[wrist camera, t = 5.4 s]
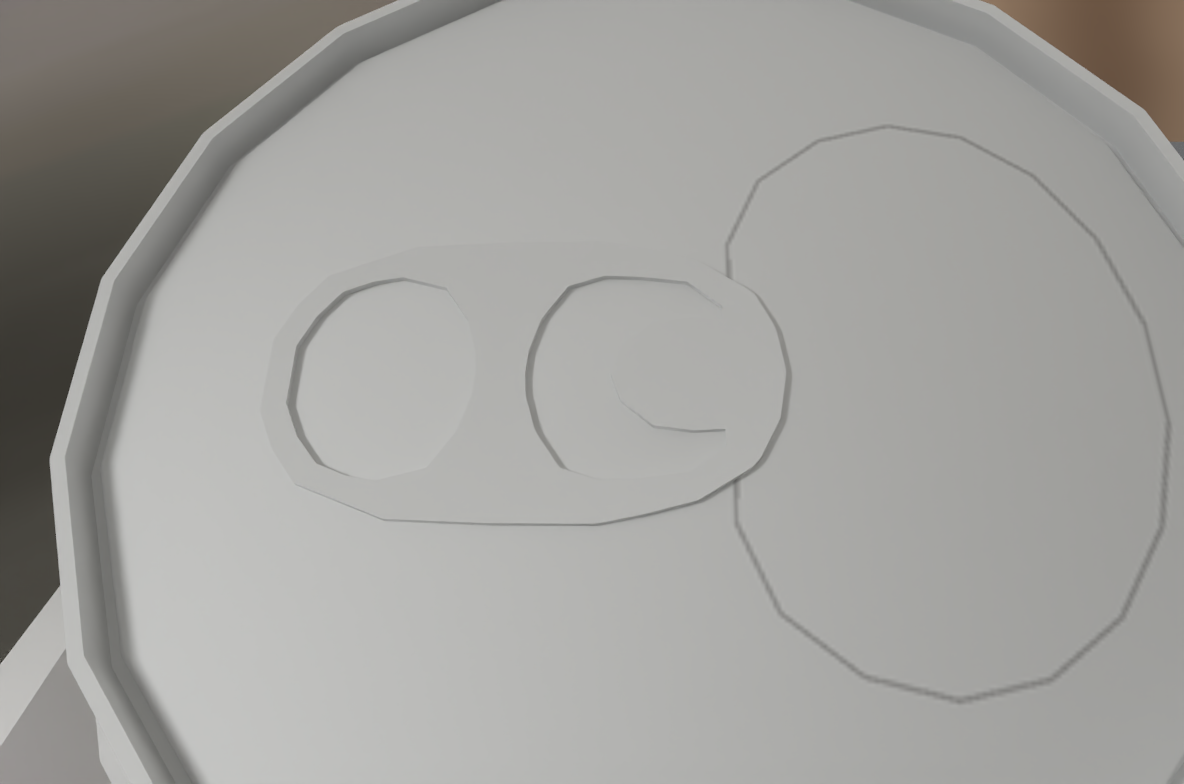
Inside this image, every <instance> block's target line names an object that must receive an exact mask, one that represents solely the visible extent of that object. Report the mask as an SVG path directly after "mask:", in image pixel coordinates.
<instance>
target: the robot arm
mask: <svg viewBox="0 0 1184 784" xmlns="http://www.w3.org/2000/svg"><path fill="white" fill-rule="evenodd" d="M0 784H112V783H111V781H110V780H109V778H108V776H107V774H106V772H105V770H104V768H103V766H102V764H101V762H100V757H99V747H98V736H97V726H96V717H95V715H94V713H93V711H92V710H91V708H90V706H89V704H88V702H87V700H86V698H85V696H84V694H83V693H82V691H81V689H80V687H79V685H78V683H77V681H76V679H75V677H74V676H73V674H72V672H71V670H70V668H69V666H68V664H67V655H66V643H65V632H64V621H63V609H62V598H61V586H59V588H58V589H57V590H56V592H55V593H54V594H53V596H52V597H51V598H50V599H49V601H48V602H47V603H46V605H45V606H44V607H43V609H42V610H41V611H40V613H39V614H38V615H37V617H36V618H35V619H34V621H33V622H32V623H31V625H30V626H29V627H28V629H27V630H26V631H25V632H24V634H23V635H22V636H21V638H20V639H19V640H18V642H17V643H16V644H15V646H14V647H13V648H12V650H11V651H10V652H9V654H8V655H7V656H6V658H5V659H4V660H3V662H2V663H1V664H0Z"/></svg>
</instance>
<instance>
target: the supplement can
mask: <svg viewBox="0 0 1184 784" xmlns="http://www.w3.org/2000/svg"><path fill="white" fill-rule="evenodd" d="M49 460H50V472H51V483H52V495H53V506H54V518H55V529H56V541H57V552H58V563H59V575H60V586H61V598H62V609H63V621H64V632H65V643H66V655H67V664H68V666H69V668H70V670H71V672H72V674H73V676H74V677H75V679H76V681H77V683H78V685H79V687H80V689H81V691H82V693H83V694H84V696H85V698H86V700H87V702H88V704H89V706H90V708H91V710H92V711H93V713H94V715H95V717H96V726H97V736H98V747H99V757H100V762H101V764H102V766H103V768H104V770H105V772H106V774H107V776H108V778H109V780H110V781H111V783H112V784H1184V160H1183V159H1182V158H1181V156H1180V155H1179V154H1178V152H1177V151H1176V150H1175V148H1174V147H1173V146H1172V145H1171V143H1170V142H1169V141H1168V139H1167V138H1166V137H1165V135H1164V134H1163V133H1162V132H1161V130H1160V129H1159V128H1158V126H1157V125H1156V124H1155V123H1154V121H1153V120H1152V119H1151V117H1150V116H1149V115H1148V113H1147V112H1146V111H1145V110H1144V109H1143V108H1141V107H1140V106H1139V105H1137V104H1136V103H1134V102H1133V101H1131V100H1130V99H1128V98H1127V97H1126V96H1124V95H1123V94H1121V93H1120V92H1118V91H1117V90H1115V89H1114V88H1113V87H1111V86H1110V85H1108V84H1107V83H1105V82H1104V81H1103V80H1101V79H1100V78H1098V77H1097V76H1095V75H1094V74H1092V73H1091V72H1090V71H1088V70H1087V69H1085V68H1084V67H1082V66H1081V65H1079V64H1078V63H1077V62H1075V61H1074V60H1072V59H1071V58H1069V57H1068V56H1066V55H1065V54H1064V53H1062V52H1061V51H1059V50H1058V49H1056V48H1055V47H1053V46H1052V45H1051V44H1049V43H1048V42H1046V41H1045V40H1043V39H1042V38H1041V37H1039V36H1038V35H1036V34H1035V33H1033V32H1032V31H1030V30H1029V29H1028V28H1026V27H1025V26H1023V25H1022V24H1020V23H1019V22H1017V21H1016V20H1015V19H1013V18H1012V17H1010V16H1009V15H1007V14H1006V13H1004V12H1003V11H1002V10H1000V9H999V8H997V7H996V6H994V5H992V4H989V3H986V2H983V1H980V0H398V1H395V2H393V3H391V4H389V5H386V6H384V7H382V8H379V9H377V10H375V11H372V12H370V13H368V14H365V15H363V16H361V17H358V18H356V19H354V20H351V21H349V22H347V23H344V24H342V25H340V26H338V27H336V28H335V29H333V30H332V31H331V32H330V33H328V34H327V35H326V36H325V37H323V38H322V39H321V40H320V41H318V42H317V43H316V44H315V45H313V46H312V47H311V48H310V49H308V50H307V51H306V52H304V53H303V54H302V55H301V56H299V57H298V58H297V59H296V60H294V61H293V62H292V63H291V64H289V65H288V66H287V67H286V68H284V69H283V70H282V71H281V72H279V73H278V74H277V75H275V76H274V77H273V78H272V79H270V80H269V81H268V82H267V83H265V84H264V85H263V86H262V87H260V88H259V89H258V90H257V91H255V92H254V93H253V94H252V95H250V96H249V97H248V98H246V99H245V100H244V101H243V102H241V103H240V104H239V105H238V106H236V107H235V108H234V109H233V110H231V111H230V112H229V113H228V114H226V115H225V116H224V117H223V118H221V119H220V120H219V121H217V122H216V123H215V124H214V125H212V126H211V127H210V128H209V129H207V130H206V131H205V132H204V133H203V134H202V135H201V137H200V138H199V139H198V141H197V142H196V144H195V145H194V147H193V148H192V149H191V151H190V152H189V154H188V155H187V157H186V158H185V159H184V161H183V162H182V164H181V165H180V167H179V168H178V170H177V171H176V172H175V174H174V175H173V177H172V178H171V180H170V181H169V182H168V184H167V185H166V187H165V188H164V190H163V191H162V192H161V194H160V195H159V197H158V198H157V200H156V201H155V202H154V204H153V205H152V207H151V208H150V210H149V211H148V213H147V214H146V215H145V217H144V218H143V220H142V221H141V223H140V224H139V225H138V227H137V228H136V230H135V231H134V233H133V234H132V235H131V237H130V238H129V240H128V241H127V243H126V244H125V245H124V247H123V248H122V250H121V251H120V253H119V254H118V256H117V257H116V258H115V260H114V261H113V263H112V264H111V266H110V267H109V268H108V270H107V271H106V273H105V274H104V276H103V277H102V279H101V282H100V285H99V289H98V292H97V296H96V299H95V303H94V306H93V310H92V313H91V317H90V320H89V324H88V327H87V331H86V334H85V337H84V341H83V344H82V348H81V351H80V355H79V358H78V362H77V365H76V369H75V372H74V376H73V379H72V382H71V386H70V389H69V393H68V396H67V400H66V403H65V407H64V410H63V414H62V417H61V421H60V424H59V427H58V431H57V434H56V438H55V441H54V445H53V448H52V452H51V455H50V459H49Z"/></svg>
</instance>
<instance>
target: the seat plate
mask: <svg viewBox="0 0 1184 784" xmlns="http://www.w3.org/2000/svg"><path fill="white" fill-rule="evenodd" d="M980 1H983V2H986V3H989V4H992V5H994V6H996V7H997V8H999V9H1000V10H1002V11H1003V12H1004V13H1006V14H1007V15H1009V16H1010V17H1012V18H1013V19H1015V20H1016V21H1017V22H1019V23H1020V24H1022V25H1023V26H1025V27H1026V28H1028V29H1029V30H1030V31H1032V32H1033V33H1035V34H1036V35H1038V36H1039V37H1041V38H1042V39H1043V40H1045V41H1046V42H1048V43H1049V44H1051V45H1052V46H1053V47H1055V48H1056V49H1058V50H1059V51H1061V52H1062V53H1064V54H1065V55H1066V56H1068V57H1069V58H1071V59H1072V60H1074V61H1075V62H1077V63H1078V64H1079V65H1081V66H1082V67H1084V68H1085V69H1087V70H1088V71H1090V72H1091V73H1092V74H1094V75H1095V76H1097V77H1098V78H1100V79H1101V80H1103V81H1104V82H1105V83H1107V84H1108V85H1110V86H1111V87H1113V88H1114V89H1115V90H1117V91H1118V92H1120V93H1121V94H1123V95H1124V96H1126V97H1127V98H1128V99H1130V100H1131V101H1133V102H1134V103H1136V104H1137V105H1139V106H1140V107H1141V108H1143V109H1144V110H1145V111H1146V112H1147V113H1148V115H1149V116H1150V117H1151V119H1152V120H1153V121H1154V123H1155V124H1156V125H1157V126H1158V128H1159V129H1160V130H1161V132H1162V133H1163V134H1164V135H1165V137H1166V138H1167V139H1168V141H1169V142H1184V0H980Z"/></svg>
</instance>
